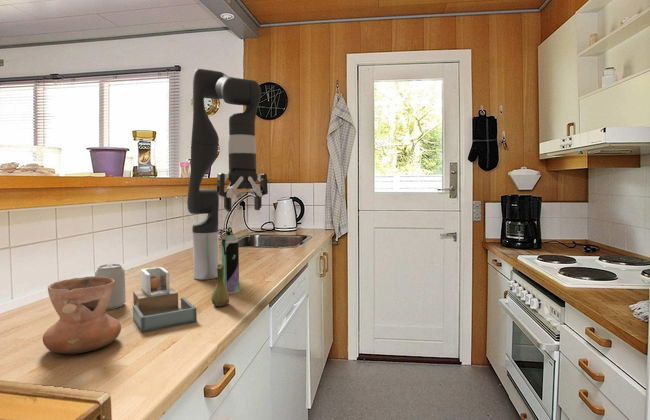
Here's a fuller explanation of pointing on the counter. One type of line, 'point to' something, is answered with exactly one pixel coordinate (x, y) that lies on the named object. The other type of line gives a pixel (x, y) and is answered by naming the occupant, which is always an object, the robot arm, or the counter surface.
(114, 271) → the can
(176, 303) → the stand
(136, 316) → the tray
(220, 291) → the fennel bulb
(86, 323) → the ceramic jug
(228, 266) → the spray can
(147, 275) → the chute
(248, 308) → the counter surface
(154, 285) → the ball
